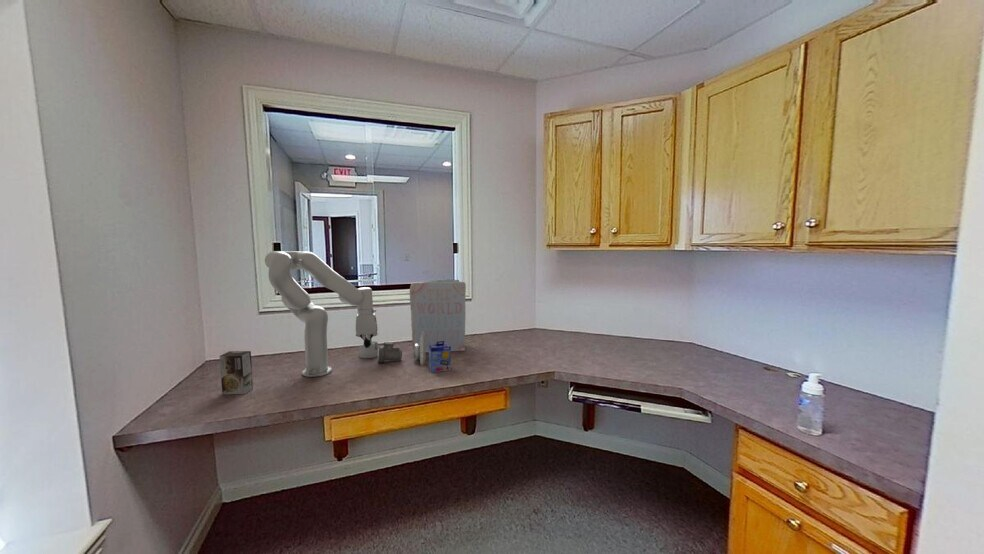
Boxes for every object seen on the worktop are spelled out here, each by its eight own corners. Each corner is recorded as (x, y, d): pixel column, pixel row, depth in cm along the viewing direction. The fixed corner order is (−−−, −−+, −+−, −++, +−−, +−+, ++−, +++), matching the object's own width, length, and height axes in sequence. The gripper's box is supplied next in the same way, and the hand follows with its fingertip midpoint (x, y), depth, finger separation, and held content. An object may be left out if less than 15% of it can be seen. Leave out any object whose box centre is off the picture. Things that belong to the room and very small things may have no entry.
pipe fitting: (376, 363, 193) (378, 343, 193) (377, 360, 200) (379, 340, 200) (401, 365, 195) (403, 344, 196) (400, 361, 203) (402, 342, 203)
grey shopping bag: (410, 347, 229) (409, 279, 226) (463, 344, 235) (462, 278, 233) (410, 354, 212) (408, 281, 210) (466, 350, 218) (465, 280, 216)
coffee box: (253, 388, 161) (251, 350, 159) (244, 394, 155) (242, 355, 153) (231, 388, 161) (229, 350, 159) (221, 394, 154) (218, 355, 153)
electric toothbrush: (356, 357, 204) (375, 358, 204) (355, 319, 202) (374, 319, 202) (363, 351, 215) (381, 352, 214) (362, 315, 213) (380, 315, 212)
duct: (423, 364, 193) (423, 337, 192) (413, 365, 193) (412, 337, 191) (425, 356, 207) (425, 330, 206) (416, 356, 206) (415, 331, 205)
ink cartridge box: (430, 372, 182) (430, 342, 180) (428, 369, 187) (428, 339, 185) (451, 370, 185) (451, 341, 184) (448, 367, 190) (448, 338, 189)
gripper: (381, 309, 199) (383, 344, 202) (352, 311, 198) (354, 345, 200) (379, 313, 192) (381, 348, 194) (348, 314, 191) (350, 350, 193)
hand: (367, 347), depth 197 cm, fingers closed
